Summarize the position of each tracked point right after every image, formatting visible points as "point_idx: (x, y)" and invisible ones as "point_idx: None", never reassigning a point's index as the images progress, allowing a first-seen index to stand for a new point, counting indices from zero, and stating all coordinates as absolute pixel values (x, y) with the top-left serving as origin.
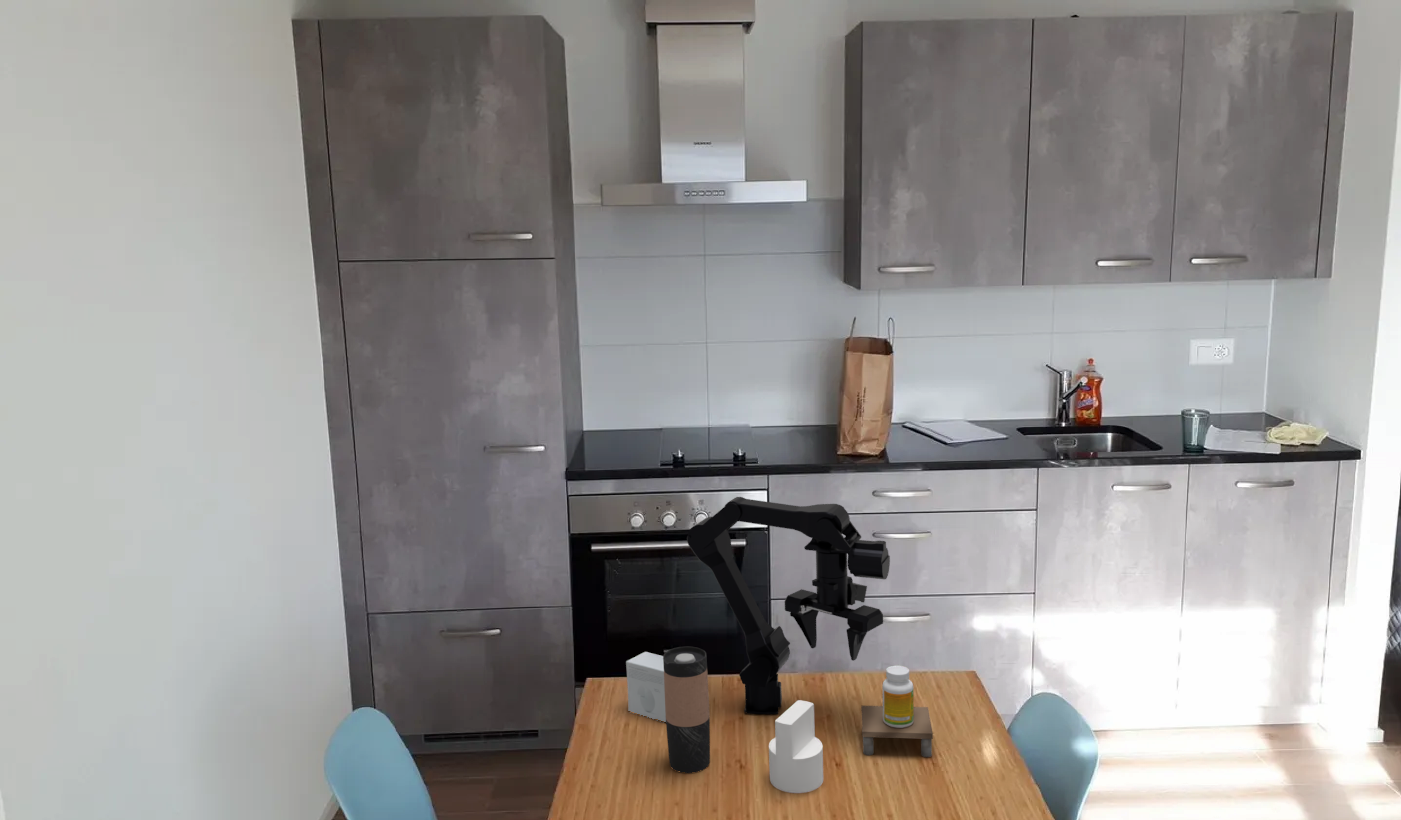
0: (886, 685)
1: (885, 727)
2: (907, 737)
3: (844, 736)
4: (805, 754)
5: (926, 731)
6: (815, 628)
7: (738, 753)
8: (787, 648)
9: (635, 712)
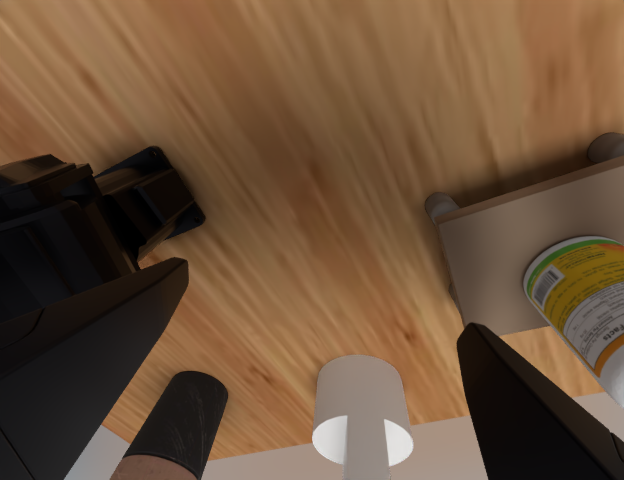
0: None
1: (531, 311)
2: None
3: (390, 247)
4: (389, 457)
5: None
6: (86, 340)
7: (240, 355)
8: (51, 234)
9: None
